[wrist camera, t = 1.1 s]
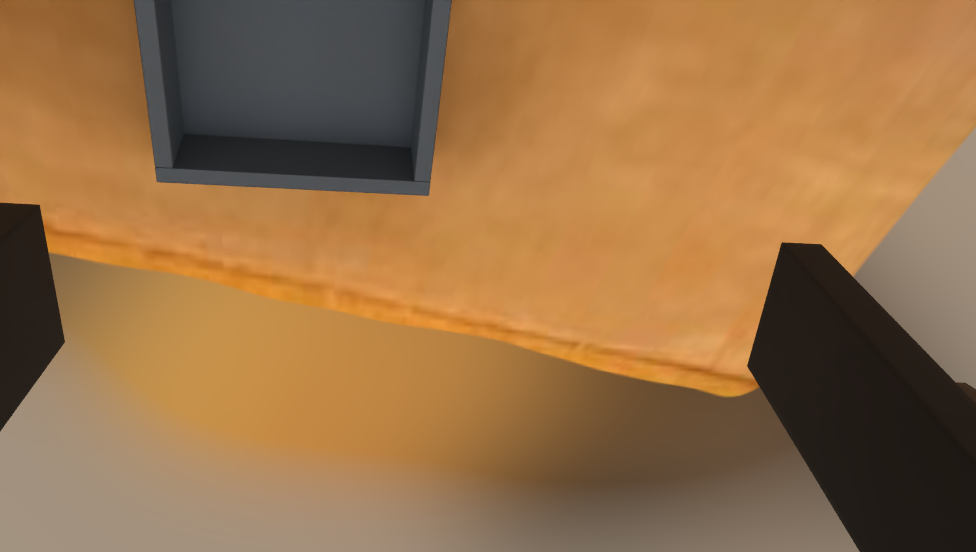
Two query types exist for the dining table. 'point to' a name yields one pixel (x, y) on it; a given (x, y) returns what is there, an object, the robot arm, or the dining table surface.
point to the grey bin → (294, 92)
